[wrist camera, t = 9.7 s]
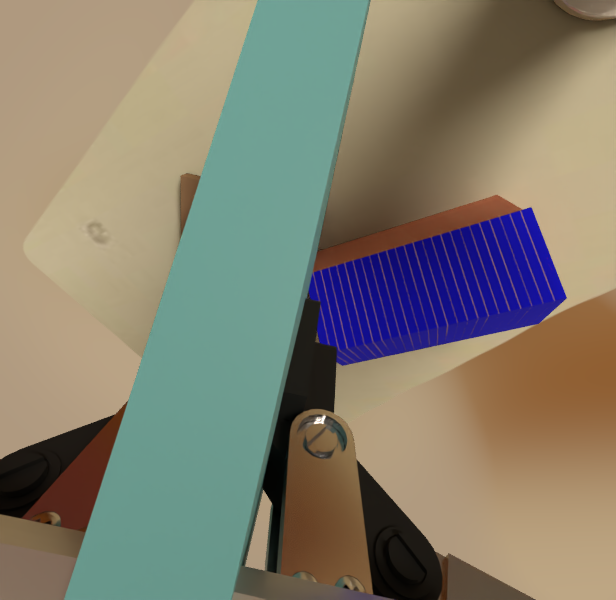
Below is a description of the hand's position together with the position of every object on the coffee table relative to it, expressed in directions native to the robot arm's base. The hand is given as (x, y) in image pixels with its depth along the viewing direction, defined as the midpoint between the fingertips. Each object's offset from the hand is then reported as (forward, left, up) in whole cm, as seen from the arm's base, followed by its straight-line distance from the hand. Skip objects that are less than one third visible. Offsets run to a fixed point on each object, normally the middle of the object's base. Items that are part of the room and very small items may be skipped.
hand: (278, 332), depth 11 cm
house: (-12, +8, -28) cm, 31 cm away
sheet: (0, -4, -3) cm, 5 cm away
